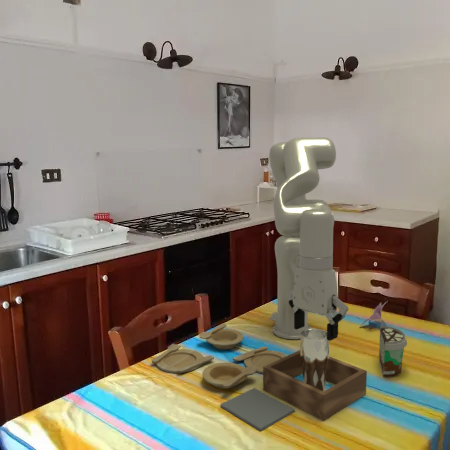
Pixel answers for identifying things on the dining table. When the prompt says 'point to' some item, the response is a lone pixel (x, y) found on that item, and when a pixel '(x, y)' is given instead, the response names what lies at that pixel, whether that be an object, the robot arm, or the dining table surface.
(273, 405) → the grey mat
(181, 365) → the tableware set
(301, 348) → the beer glass
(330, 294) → the robot arm
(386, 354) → the food container
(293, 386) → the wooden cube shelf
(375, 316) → the lily
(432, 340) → the dining table surface
